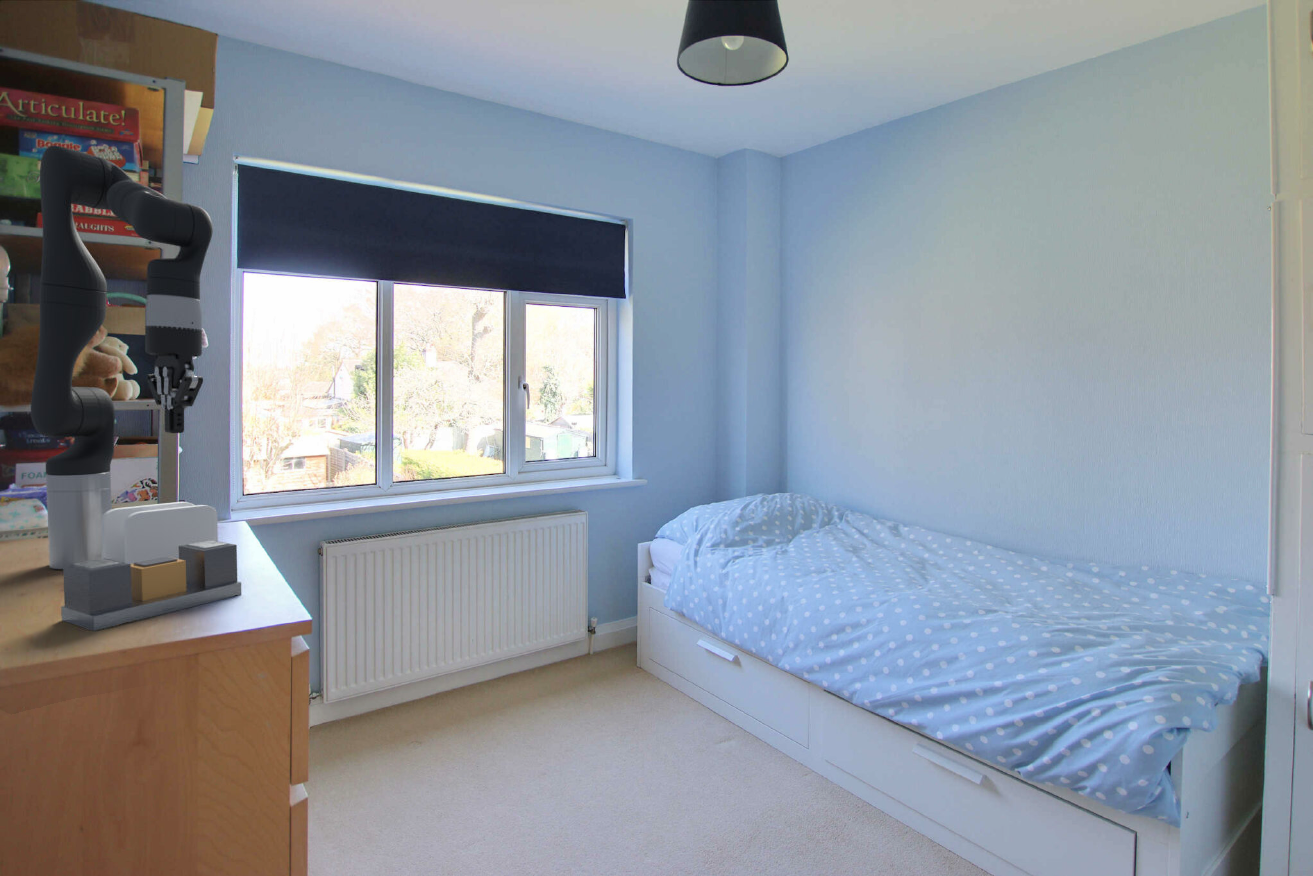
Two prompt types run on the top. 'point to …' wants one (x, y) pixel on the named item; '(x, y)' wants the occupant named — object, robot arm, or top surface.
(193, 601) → the rail plate
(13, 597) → the top surface
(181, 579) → the orange module
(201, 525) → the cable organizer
